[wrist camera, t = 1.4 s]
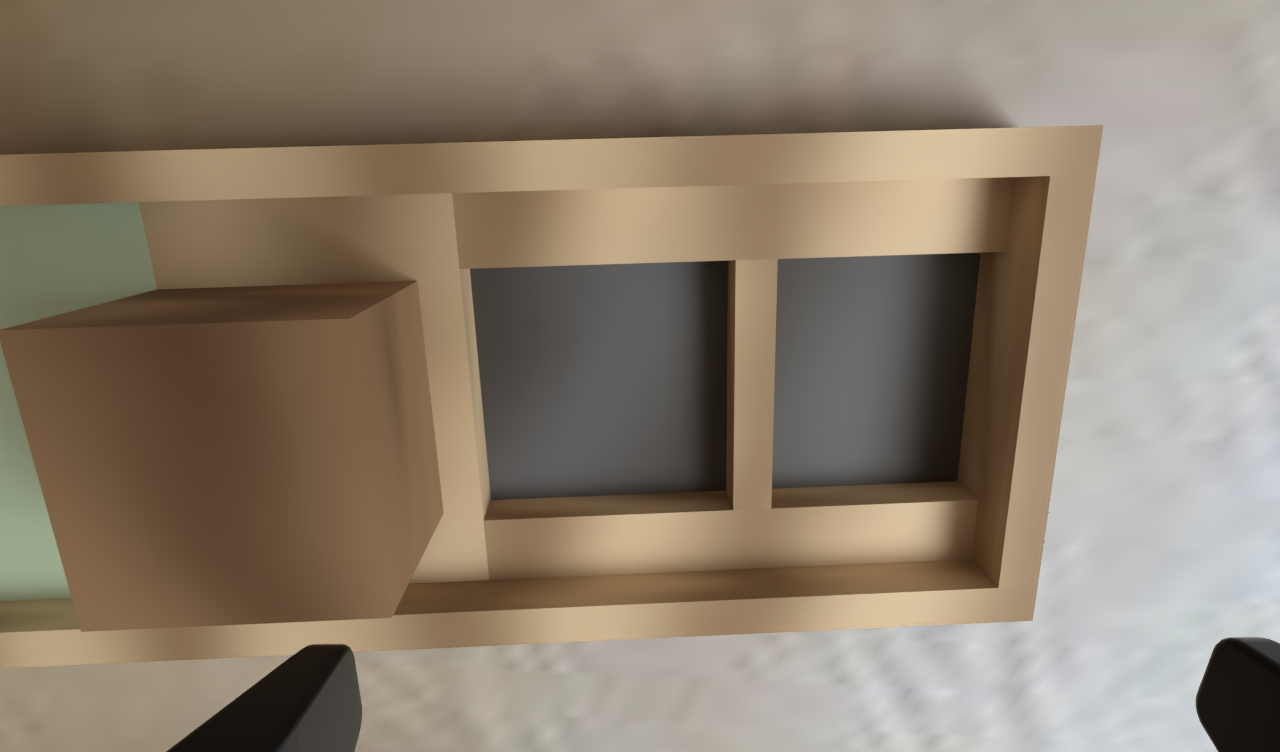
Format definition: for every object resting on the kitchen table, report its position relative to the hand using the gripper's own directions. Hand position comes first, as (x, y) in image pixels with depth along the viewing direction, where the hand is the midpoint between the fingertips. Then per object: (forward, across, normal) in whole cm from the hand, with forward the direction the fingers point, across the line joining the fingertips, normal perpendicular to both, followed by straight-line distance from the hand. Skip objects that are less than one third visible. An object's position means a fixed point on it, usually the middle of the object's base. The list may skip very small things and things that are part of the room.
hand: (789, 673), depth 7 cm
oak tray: (+12, +6, +2) cm, 14 cm away
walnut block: (+11, +9, +2) cm, 14 cm away
